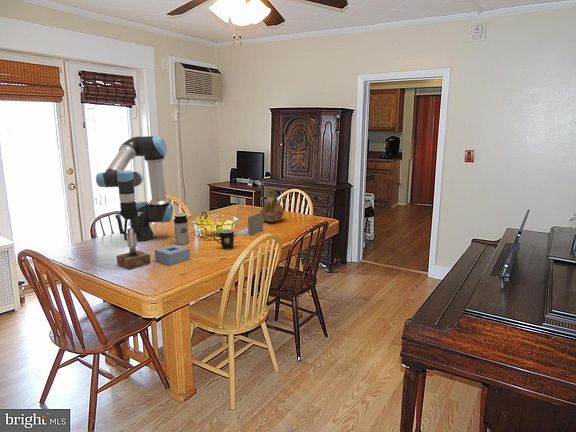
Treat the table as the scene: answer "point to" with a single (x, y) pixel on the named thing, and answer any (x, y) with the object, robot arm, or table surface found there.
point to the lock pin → (132, 242)
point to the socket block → (172, 254)
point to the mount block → (133, 260)
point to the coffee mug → (226, 238)
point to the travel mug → (181, 229)
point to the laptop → (253, 225)
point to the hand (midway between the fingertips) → (132, 245)
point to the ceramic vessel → (272, 207)
